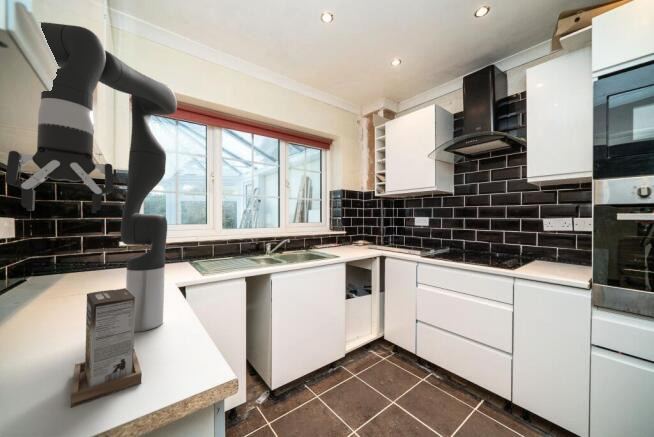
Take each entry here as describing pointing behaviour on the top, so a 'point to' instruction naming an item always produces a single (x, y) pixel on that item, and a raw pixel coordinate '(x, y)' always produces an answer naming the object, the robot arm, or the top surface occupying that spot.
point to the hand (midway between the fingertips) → (64, 211)
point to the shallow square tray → (86, 394)
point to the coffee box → (109, 335)
